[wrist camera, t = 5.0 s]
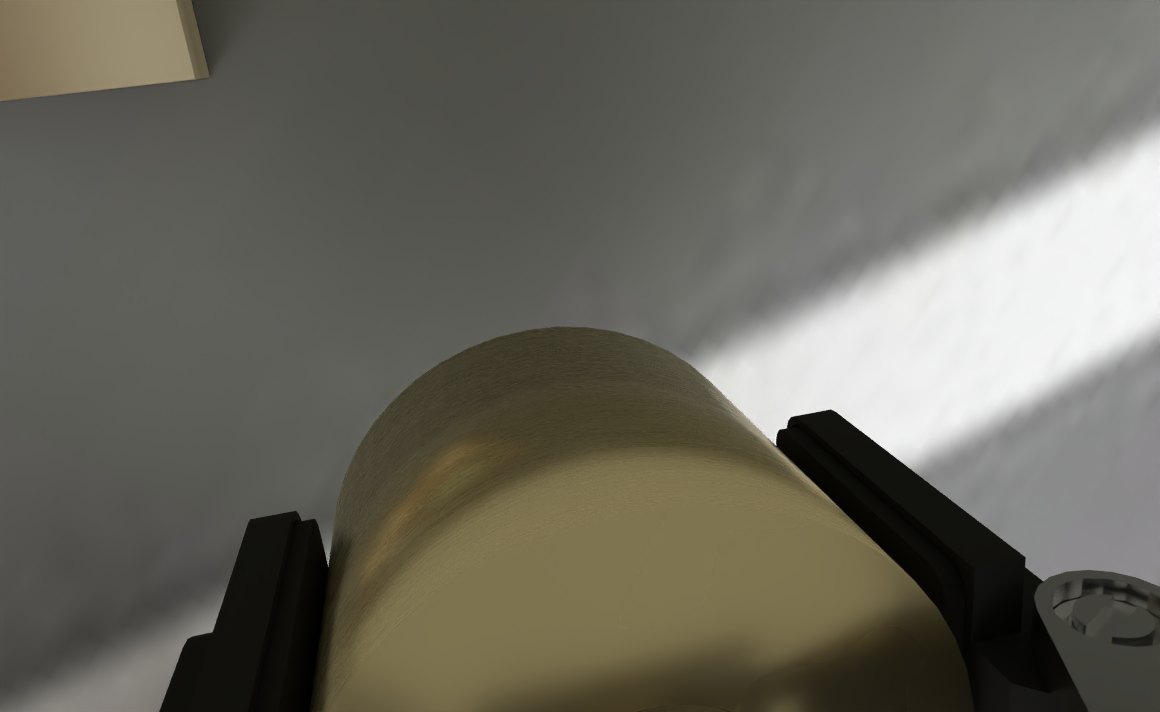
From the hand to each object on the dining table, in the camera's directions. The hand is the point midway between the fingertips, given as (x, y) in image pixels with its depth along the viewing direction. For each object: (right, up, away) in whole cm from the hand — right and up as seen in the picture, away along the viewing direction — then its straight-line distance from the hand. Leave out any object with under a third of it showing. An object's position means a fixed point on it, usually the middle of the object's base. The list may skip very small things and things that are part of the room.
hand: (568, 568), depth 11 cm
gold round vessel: (0, 0, +1) cm, 1 cm away
